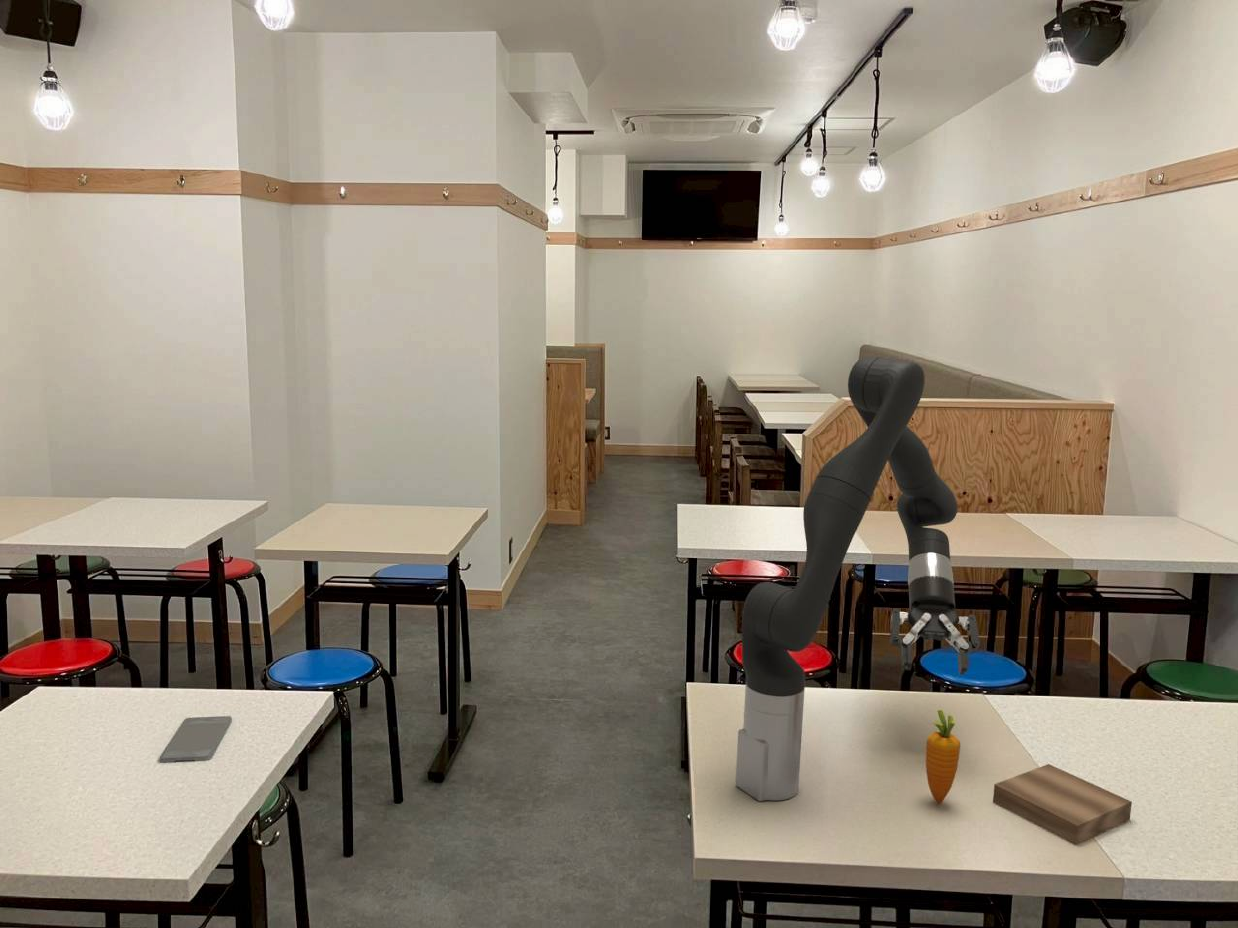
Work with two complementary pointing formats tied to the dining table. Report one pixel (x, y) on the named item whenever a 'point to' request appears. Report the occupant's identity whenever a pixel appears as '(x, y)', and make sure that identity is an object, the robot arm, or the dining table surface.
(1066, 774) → the walnut plinth
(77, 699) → the dining table surface
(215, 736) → the phone
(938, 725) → the carrot
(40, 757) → the dining table surface
